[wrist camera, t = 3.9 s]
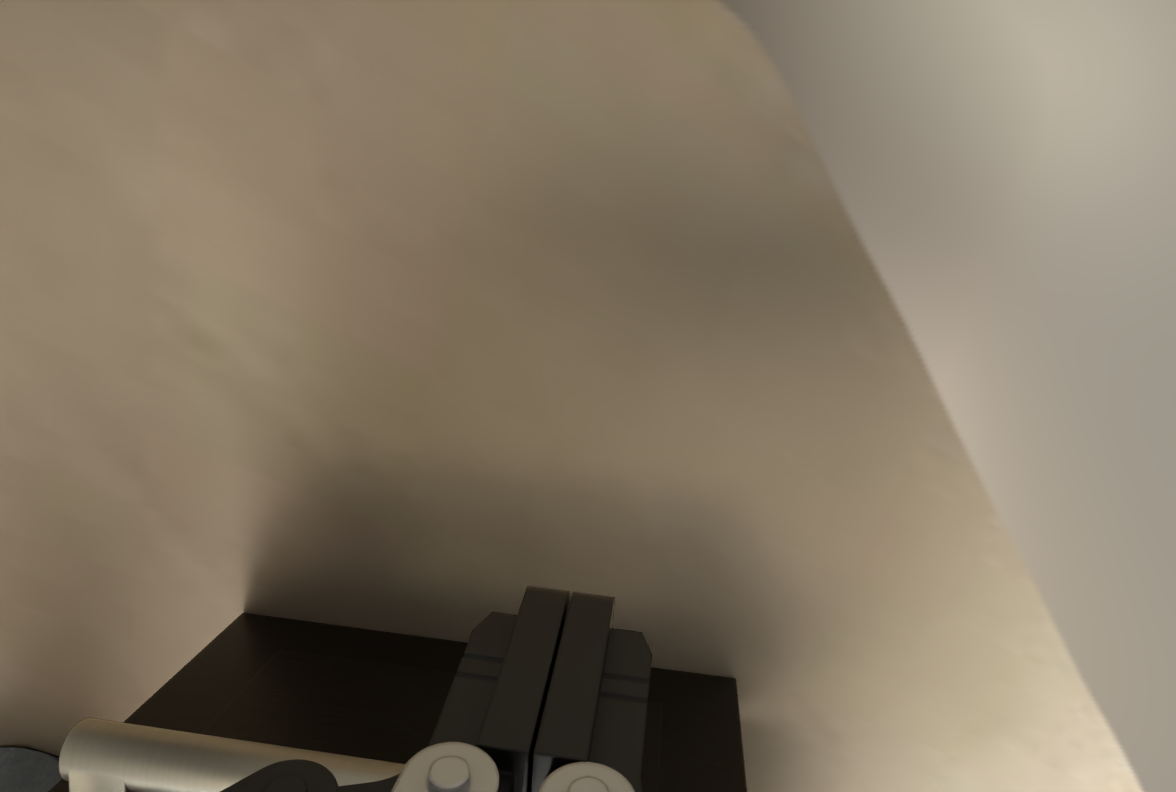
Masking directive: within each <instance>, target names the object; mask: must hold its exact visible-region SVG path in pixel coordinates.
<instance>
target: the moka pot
mask: <svg viewBox="0 0 1176 792" xmlns="http://www.w3.org/2000/svg"><path fill="white" fill-rule="evenodd" d="M61 779H62V777H61V775H60V772H59V759H58V758H56V757H54V756H52V755H49V754H46V753H43V752H39V751H35V750H31V749H25V748H17V747H6V748H0V792H48V791H49V790H50V789H51V788H52V787H53V786H54V785H56V784H57V783H58V782H59V781H60V780H61Z"/></svg>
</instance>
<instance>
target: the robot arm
mask: <svg viewBox="0 0 1176 792" xmlns="http://www.w3.org/2000/svg"><path fill="white" fill-rule="evenodd" d="M614 603H615V597H608V596H600V595H593V594H585V593H578V592H573V593H572V596H571V599H570V592H569V591H561V590H554V589H547V588H539V587H532V586H528V587H527V588H526V591H525V594H524V597H523V600H522V603H521V606H520V609H519V612H518V615H511V614H504V613H496V612H492V613H491V614H490V615H489V616H488V617H487V618H485V619H484V620H483V621H482V622H481V623H480V624H479V625H478V626H477V627H476V628H475V629H474V630H473V631H472V633H471V636H470V639H469V641H468V644H467V646H466V649H465V652H464V657H462V659H461V662H460V665H459V667H458V670H457V675H456V676H455V678H454V680H453V683H452V686H451V688H450V691H449V693H448V696H447V699H446V701H445V704H444V706H443V709H442V712H441V714H440V717H439V719H438V722H437V725H436V727H435V730H434V732H433V735H432V738H431V740H430V743H429V745H428V747H427V748H424V749H423V750H421V751H419V752H418V753H416V754H415V755H414V756H413V757H411V758H410V760H409V761H408V762H407V763H406V764H405V766H404V767H403V769H402V771H401V773H399V774H397V775H395V776H393V777H390V778H387V779H384V780H380V781H375V782H368V783H361V784H353V785H345V786H338V783H337V781H336V778H335V777H334V775H333V774H332V772H330V771H329V770H328V769H327V768H326V767H324V766H323V765H321V764H319V763H316V762H314V761H309V760H301V759H293V760H285V761H280V762H277V763H274V764H271V765H268V766H266V767H264V768H262V769H260V770H258V771H256V772H255V773H253V774H251V775H249V776H247V777H245V778H244V779H242V780H240V781H238V782H236V783H235V784H233V785H231V786H229V787H227V788H226V789H224V790H222V791H220V792H643V791H642V787H641V767H642V756H643V746H644V736H645V725H646V715H647V704H648V694H649V683H650V673H651V663H652V654H651V651H650V649H649V647H648V645H647V643H646V640H645V638H644V636H643V634H642V632H636V631H629V630H621V629H614V628H612V625H613V615H614Z"/></svg>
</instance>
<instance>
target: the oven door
mask: <svg viewBox="0 0 1176 792" xmlns="http://www.w3.org/2000/svg"><path fill="white" fill-rule="evenodd" d="M467 644H468V643H465V642H457V641H450V640H442V639H435V638H427V637H420V636H412V635H405V634H397V633H390V632H382V631H375V630H367V629H360V628H352V627H345V626H338V625H330V624H323V623H315V622H308V621H300V620H293V619H285V618H278V617H270V616H263V615H255V614H248V613H242V614H241V615H240V616H239V617H238V618H237V619H236V620H234V621H233V622H232V623H231V624H230V625H229V626H228V627H227V628H226V629H225V630H224V631H222V632H221V633H220V634H219V635H218V636H217V637H216V638H215V639H214V640H213V641H212V642H210V643H209V644H208V645H207V646H206V647H205V648H204V649H203V650H202V651H201V652H200V653H198V654H197V655H196V656H195V657H194V658H193V659H192V660H191V661H190V662H189V663H188V664H186V665H185V666H184V667H183V668H182V669H181V670H180V671H179V672H178V673H177V674H176V675H174V676H173V677H172V678H171V679H170V680H169V681H168V682H167V683H166V684H165V685H164V686H162V687H161V688H160V689H159V690H158V691H157V692H156V693H155V694H154V695H153V696H152V697H150V698H149V699H148V700H147V701H146V702H145V703H144V704H143V705H142V706H141V707H140V708H138V709H137V710H136V711H135V712H134V713H133V714H132V715H131V716H130V717H129V718H128V719H126V720H125V721H124V722H123V723H121V722H115V721H108V720H101V719H94V718H86V719H83V720H81V721H80V722H78V723H77V724H76V725H75V726H74V727H73V728H72V729H71V731H70V732H69V734H68V735H67V737H66V739H65V741H64V743H63V746H62V749H61V752H60V756H59V772H60V775H61V777H62V779H61V780H60V781H59V782H58V783H57V784H56V785H54V786H53V787H52V788H51V789H50V790H49V791H48V792H220V791H222V790H224V789H226V788H227V787H229V786H231V785H233V784H235V783H236V782H238V781H240V780H242V779H244V778H245V777H247V776H249V775H251V774H253V773H255V772H256V771H258V770H260V769H262V768H264V767H266V766H268V765H271V764H274V763H277V762H280V761H285V760H293V759H301V760H309V761H314V762H316V763H319V764H321V765H323V766H324V767H326V768H327V769H328V770H329V771H330V772H332V774H333V775H334V777H335V778H336V781H337V783H338V786H345V785H353V784H361V783H368V782H375V781H380V780H384V779H387V778H390V777H393V776H395V775H397V774H399V773H401V771H402V769H403V767H404V766H405V764H406V763H407V762H408V761H409V760H410V758H411V757H413V756H414V755H415V754H416V753H418V752H419V751H421V750H423V749H424V748H427V747H428V745H429V743H430V740H431V738H432V735H433V732H434V730H435V727H436V725H437V722H438V719H439V717H440V714H441V712H442V709H443V706H444V704H445V701H446V699H447V696H448V693H449V691H450V688H451V686H452V683H453V680H454V678H455V676H456V675H457V670H458V667H459V665H460V662H461V659H462V657H464V652H465V649H466V646H467ZM641 787H642V791H643V792H747V784H746V774H745V764H744V754H743V744H742V734H741V724H740V714H739V704H738V694H737V684H736V679H734V678H727V677H719V676H712V675H704V674H697V673H689V672H682V671H674V670H667V669H660V668H652V667H651V673H650V683H649V694H648V704H647V715H646V725H645V736H644V746H643V756H642V767H641Z"/></svg>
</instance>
